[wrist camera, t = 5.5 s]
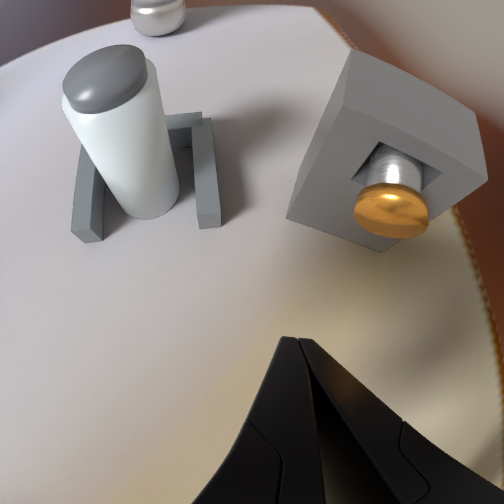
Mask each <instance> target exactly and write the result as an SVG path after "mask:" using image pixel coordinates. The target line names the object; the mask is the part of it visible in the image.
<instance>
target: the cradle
mask: <svg viewBox="0 0 504 504" xmlns="http://www.w3.org/2000/svg"><path fill="white" fill-rule="evenodd" d="M165 121H166V126H167V131H168V135H169V140H170V145H171V149H174V148H183V147H192V148H193V164H194V180H195V193H196V206H197V217H198V223H199V229H206V228H215V227H221V209H220V201H219V192H218V183H217V173H216V164H215V154H214V145H213V135H212V124H211V118H204V119H202V112H194V113H185V114H176V115H168V116H165ZM104 194H105V180H104V179H103V177H102V176H101V174H100V172H99V171H98V169H97V168H96V166H95V164H94V163H93V161H92V159H91V158H90V156H89V154H88V153H87V151H86V149H85V148H84V146H83V144H82V145H81V151H80V157H79V163H78V169H77V176H76V184H75V192H74V201H73V211H72V223H71V232H72V233H73V234H74V235H76V236H77V237H78V238H79V239H80V240H82V241H83V242H84V243H90V242H98V241H103V211H104Z"/></svg>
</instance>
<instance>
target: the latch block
mask: <svg viewBox="0 0 504 504" xmlns="http://www.w3.org/2000/svg"><path fill="white" fill-rule="evenodd" d="M379 141H380V142H382V143H384V144H386V145H389V146H391V147H393V148H395V149H397V150H399V151H401V152H403V153H406V154H408V155H410V156H412V157H414V158H416V159H418V160H420V161H422V188H421V194H422V195H423V196H424V197H425V199H426V200H427V202H428V205H429V220H428V222H430V221H431V220H433V219H434V218H436V217H437V216H439V215H440V214H441V213H443V212H444V211H446V210H447V209H449V208H450V207H452V206H453V205H454V204H456V203H457V202H459V201H460V200H461V199H463V198H464V197H466V196H467V195H469V194H470V193H471V192H473V191H474V190H475V189H477V188H478V187H480V186H481V185H482V184H484V183H485V182H486V181H488V176H487V170H486V163H485V157H484V152H483V147H482V142H481V137H480V133H479V128H478V124H477V120H476V116H475V113H474V112H473V111H471V110H470V109H468V108H467V107H465V106H464V105H462V104H461V103H459V102H457V101H456V100H454V99H453V98H451V97H450V96H448V95H446V94H445V93H443V92H441V91H440V90H438V89H436V88H434V87H433V86H431V85H429V84H427V83H425V82H424V81H422V80H420V79H418V78H416V77H414V76H412V75H410V74H408V73H406V72H405V71H402V70H400V69H399V68H397V67H394V66H392V65H390V64H388V63H386V62H384V61H381V60H379V59H377V58H375V57H372V56H370V55H368V54H365V53H363V52H360V51H358V50H355V49H353V48H352V49H351V51H350V53H349V56H348V58H347V60H346V63H345V65H344V67H343V70H342V72H341V74H340V77H339V79H338V81H337V84H336V86H335V88H334V91H333V93H332V95H331V97H330V100H329V102H328V104H327V107H326V109H325V111H324V114H323V116H322V118H321V120H320V123H319V125H318V127H317V130H316V132H315V134H314V136H313V139H312V141H311V143H310V146H309V148H308V150H307V152H306V155H305V157H304V159H303V161H302V164H301V166H300V170H299V174H298V177H297V181H296V184H295V188H294V191H293V195H292V198H291V201H290V205H289V208H288V212H287V215H286V219H289V220H292V221H294V222H297V223H300V224H303V225H306V226H309V227H312V228H315V229H318V230H321V231H323V232H326V233H329V234H332V235H335V236H338V237H340V238H343V239H346V240H349V241H351V242H354V243H357V244H360V245H362V246H365V247H368V248H370V249H373V250H376V251H378V252H381V253H382V252H383V251H385V250H387V249H388V248H390V247H391V246H393V245H395V244H396V243H398V242H399V241H401V240H402V239H404V238H389V237H383V236H380V235H377V234H374V233H371V232H369V231H367V230H366V229H364V228H363V227H361V226H360V225H359V224H358V223H357V221H356V220H355V217H354V211H355V205H356V199H357V195H358V193H359V192H360V191H361V190H362V189H364V188H365V187H367V180H368V172H369V163H370V155H371V152H372V150H373V149H374V148H375V146H376V145H377V144H378V142H379Z"/></svg>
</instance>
